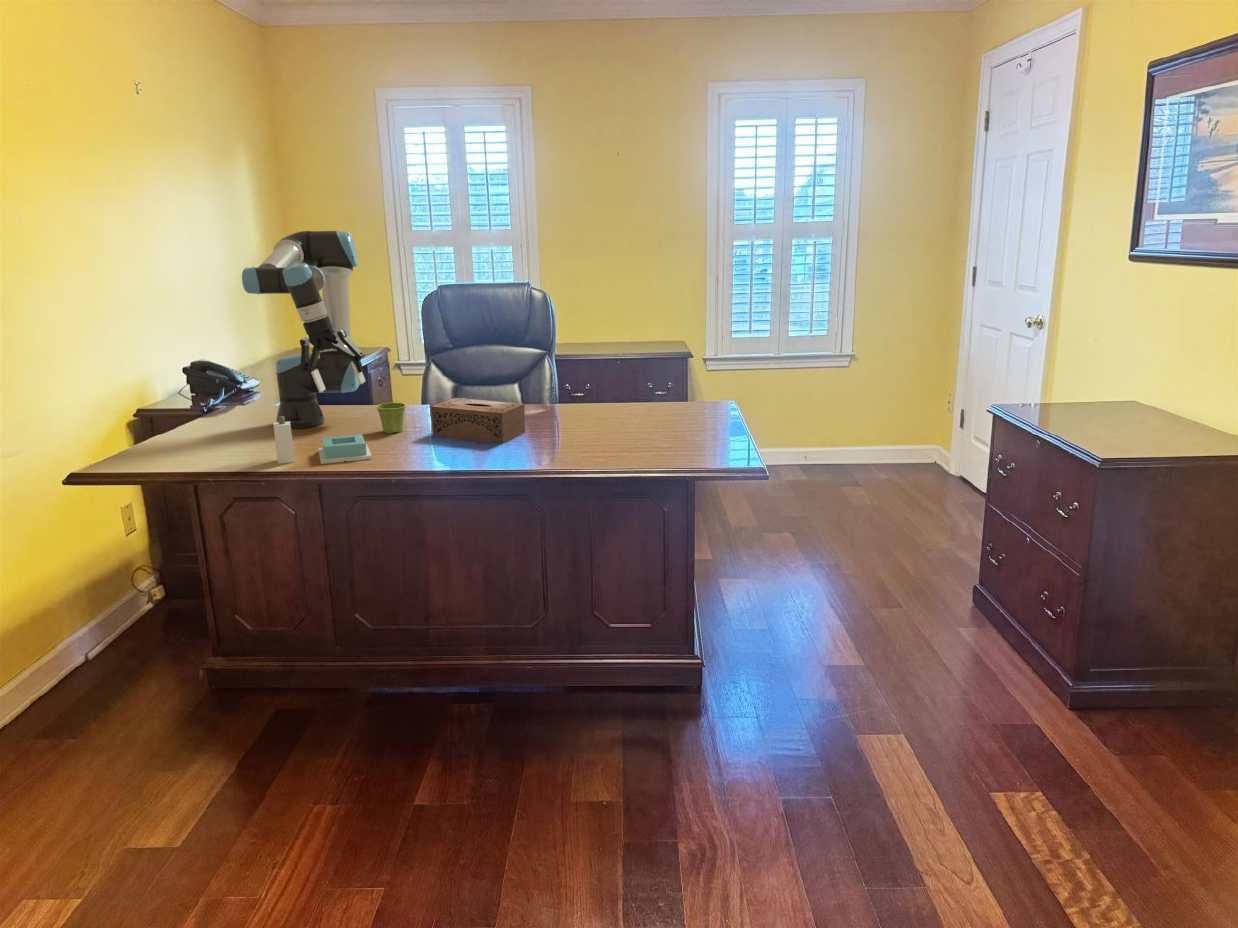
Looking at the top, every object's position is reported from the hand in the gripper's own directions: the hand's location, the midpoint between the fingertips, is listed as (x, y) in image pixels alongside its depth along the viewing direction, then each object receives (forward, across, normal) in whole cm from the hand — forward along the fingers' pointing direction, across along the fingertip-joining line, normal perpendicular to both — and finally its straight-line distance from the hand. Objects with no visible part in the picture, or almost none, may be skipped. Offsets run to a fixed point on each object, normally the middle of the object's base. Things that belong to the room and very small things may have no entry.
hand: (342, 387), depth 247 cm
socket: (+17, -1, -11) cm, 21 cm away
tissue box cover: (+30, +28, +19) cm, 45 cm away
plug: (+13, -14, -20) cm, 27 cm away
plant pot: (+23, 0, +18) cm, 29 cm away
